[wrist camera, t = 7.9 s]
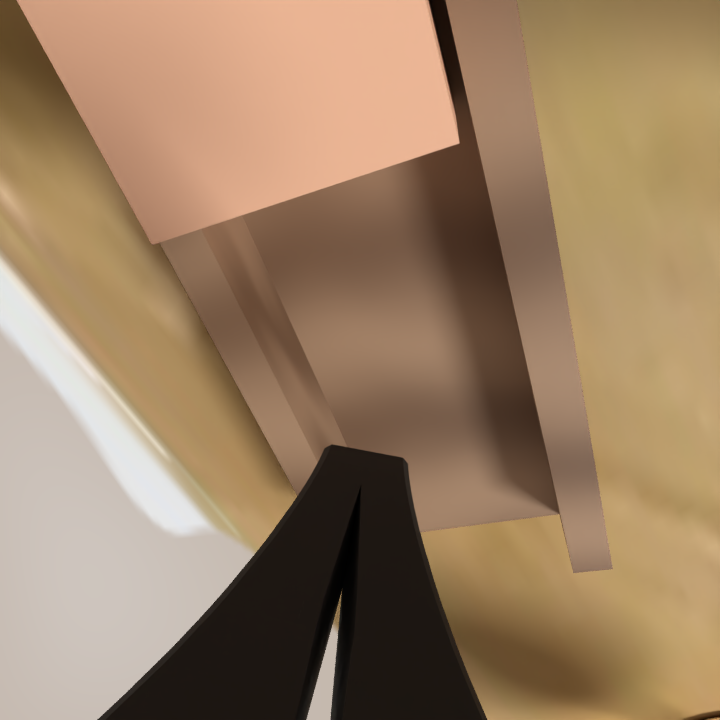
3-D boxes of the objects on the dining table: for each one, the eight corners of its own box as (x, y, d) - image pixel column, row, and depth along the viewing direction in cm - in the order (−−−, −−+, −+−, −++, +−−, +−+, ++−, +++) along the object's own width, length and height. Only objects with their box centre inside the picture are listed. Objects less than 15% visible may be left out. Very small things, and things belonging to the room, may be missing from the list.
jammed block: (453, 102, 13) (459, 142, 9) (235, 179, 15) (152, 245, 10) (391, -164, 11) (357, -284, 6) (139, -36, 12) (-19, -64, 8)
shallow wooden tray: (587, 489, 20) (612, 569, 17) (363, 520, 23) (351, 595, 20) (432, -358, 10) (429, -517, 7) (52, -129, 12) (-69, -175, 9)
